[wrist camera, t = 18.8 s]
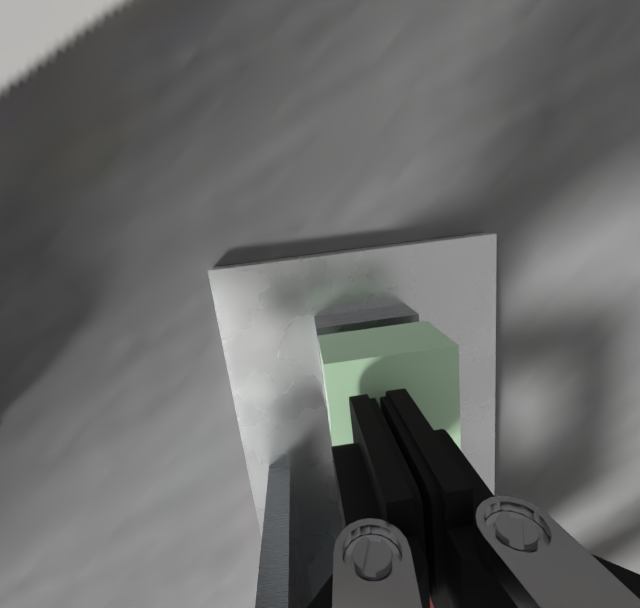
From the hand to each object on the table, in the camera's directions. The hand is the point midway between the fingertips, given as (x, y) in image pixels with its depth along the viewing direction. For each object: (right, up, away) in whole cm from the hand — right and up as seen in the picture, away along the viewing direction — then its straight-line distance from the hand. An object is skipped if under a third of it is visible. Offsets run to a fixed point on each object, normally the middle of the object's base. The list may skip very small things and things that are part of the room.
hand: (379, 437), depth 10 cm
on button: (0, +1, +4) cm, 4 cm away
